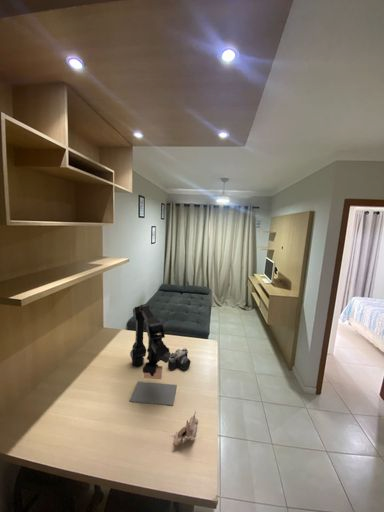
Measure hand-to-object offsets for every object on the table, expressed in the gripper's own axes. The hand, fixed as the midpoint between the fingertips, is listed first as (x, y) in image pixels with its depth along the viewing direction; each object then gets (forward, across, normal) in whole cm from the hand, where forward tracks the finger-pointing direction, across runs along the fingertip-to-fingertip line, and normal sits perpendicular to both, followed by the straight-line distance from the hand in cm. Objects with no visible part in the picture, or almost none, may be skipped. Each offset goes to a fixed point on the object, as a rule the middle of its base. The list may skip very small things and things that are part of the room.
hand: (152, 374), depth 113 cm
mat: (+11, +1, -1) cm, 11 cm away
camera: (+12, +25, -12) cm, 30 cm away
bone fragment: (+13, -20, -18) cm, 30 cm away
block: (+2, 0, 0) cm, 2 cm away
